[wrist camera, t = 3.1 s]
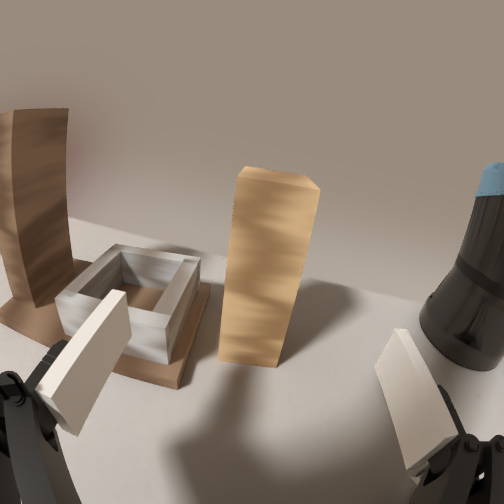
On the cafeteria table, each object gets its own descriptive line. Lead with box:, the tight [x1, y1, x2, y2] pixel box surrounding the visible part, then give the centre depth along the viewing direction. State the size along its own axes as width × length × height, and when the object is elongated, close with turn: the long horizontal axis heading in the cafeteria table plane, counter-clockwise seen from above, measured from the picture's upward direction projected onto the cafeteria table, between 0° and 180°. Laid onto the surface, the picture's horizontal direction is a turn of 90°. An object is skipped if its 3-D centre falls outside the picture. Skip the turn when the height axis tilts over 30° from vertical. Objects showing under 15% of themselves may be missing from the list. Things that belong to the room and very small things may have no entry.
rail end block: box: [218, 166, 320, 368], centre depth 22 cm, size 5×6×15 cm
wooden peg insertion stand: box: [0, 108, 210, 390], centre depth 21 cm, size 21×14×20 cm, turn 87°
